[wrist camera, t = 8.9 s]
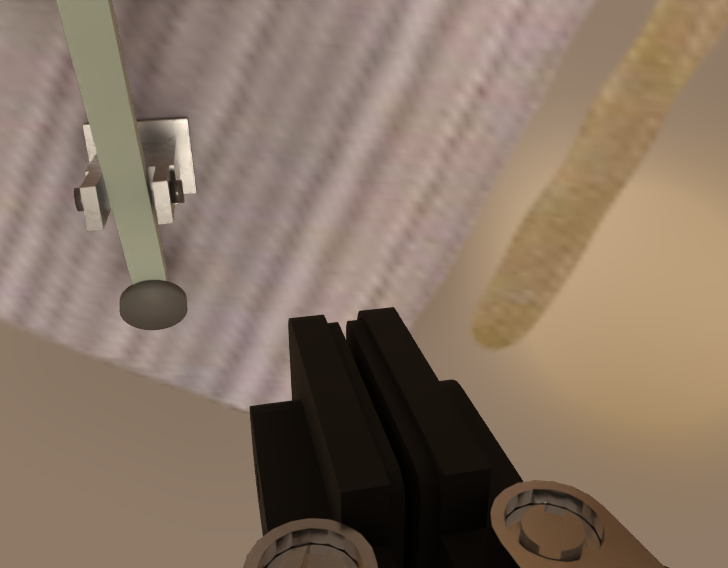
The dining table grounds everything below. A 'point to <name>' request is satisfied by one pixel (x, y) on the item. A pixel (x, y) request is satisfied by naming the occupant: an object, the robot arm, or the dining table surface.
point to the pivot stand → (164, 168)
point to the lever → (121, 161)
